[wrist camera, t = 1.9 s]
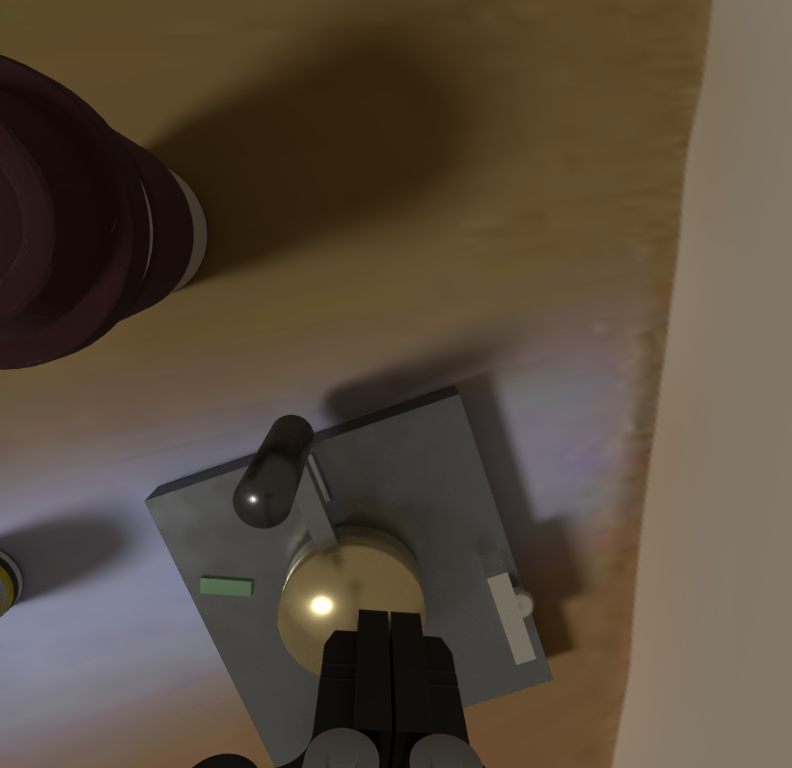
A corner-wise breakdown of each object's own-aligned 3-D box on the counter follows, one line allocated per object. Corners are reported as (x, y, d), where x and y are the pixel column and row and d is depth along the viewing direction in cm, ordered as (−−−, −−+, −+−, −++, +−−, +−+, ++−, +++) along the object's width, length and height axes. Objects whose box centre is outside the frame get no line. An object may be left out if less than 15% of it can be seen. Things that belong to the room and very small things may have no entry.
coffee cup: (229, 134, 30) (91, 28, 16) (239, 321, 32) (127, 382, 18) (37, 131, 30) (-288, 18, 15) (61, 320, 32) (-201, 381, 17)
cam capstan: (438, 622, 34) (458, 738, 26) (314, 661, 35) (296, 789, 27) (352, 392, 31) (344, 444, 23) (215, 439, 31) (159, 507, 23)
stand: (548, 656, 38) (570, 707, 34) (280, 741, 39) (268, 801, 35) (459, 383, 34) (471, 403, 29) (157, 486, 35) (126, 520, 30)
